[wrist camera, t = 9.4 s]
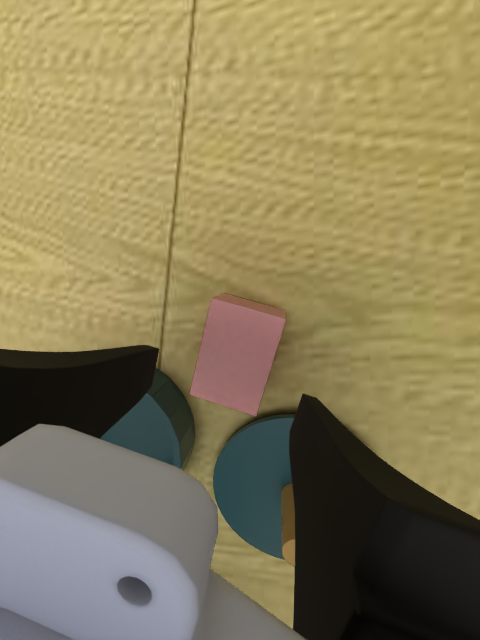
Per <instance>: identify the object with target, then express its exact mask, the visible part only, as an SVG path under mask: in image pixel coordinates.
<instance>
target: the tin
mask: <svg viewBox="0 0 480 640" xmlns="http://www.w3.org/2000/svg"><path fill="white" fill-rule="evenodd" d="M194 436H195V432H194V422H193V417H192V413H191V410H190V408H189V405H188V403H187V401H186V399H185V398H184V396H183V394H182V393H181V391H180V390H179V389H178V387H177V386H176V385H175V384H174V383H173V382H172V381H171V380H170V379H169V378H168V377H167V376H166V375H165V374H163V373H162V372H161V371H159V370H158V369H156V368H155V373H154V378H153V383H152V386H151V388H150V389H149V390H148V392H147V393H146V394H145V395H144V397H143V398H142V399H141V400H140V401H139V402H138V403H137V404H136V405H135V406H134V407H133V408H132V409H131V410H130V411H129V412H128V413H127V414H126V415H124V416H123V417H122V418H121V419H120V420H119V421H118V422H117V423H116V424H115V425H114V426H113V427H111V428H110V429H109V430H108V431H107V432H106V433H105V434H104V435H103V436H102V437H101V438H100V439H101V440H104V441H107V442H109V443H112V444H115V445H118V446H121V447H123V448H126V449H129V450H132V451H134V452H137V453H140V454H143V455H146V456H148V457H151V458H154V459H157V460H159V461H162V462H165V463H168V464H170V465H173V466H176V467H178V468H180V469H181V470H183V471H184V469H185V467H186V464H187V462H188V460H189V456H190V454H191V452H192V448H193V444H194Z"/></svg>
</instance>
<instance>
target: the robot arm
mask: <svg viewBox="0 0 480 640" xmlns="http://www.w3.org/2000/svg"><path fill="white" fill-rule="evenodd" d="M158 352H159V349H158V348H155V347H151V346H148V345H138V346H129V347H121V348H113V349H103V350H93V351H80V352H36V351H18V350H6V349H0V640H480V520H478V519H476V518H475V517H473V516H471V515H469V514H467V513H465V512H463V511H462V510H460V509H458V508H456V507H454V506H452V505H451V504H449V503H447V502H445V501H444V500H442V499H440V498H439V497H437V496H436V495H434V494H432V493H431V492H429V491H427V490H426V489H424V488H422V487H421V486H419V485H418V484H416V483H415V482H413V481H412V480H410V479H409V478H407V477H406V476H404V475H403V474H402V473H400V472H399V471H397V470H396V469H394V468H393V467H392V466H390V465H389V464H387V463H386V462H385V461H383V460H382V459H381V458H380V457H378V456H377V455H376V454H375V453H373V452H372V451H371V450H370V449H369V448H367V447H366V446H365V445H364V444H363V443H361V442H360V441H359V440H358V439H357V438H356V437H355V436H354V435H353V434H352V433H351V432H350V431H349V430H348V429H347V428H346V427H344V426H343V425H342V423H341V422H340V421H339V420H338V419H337V418H336V417H335V416H334V415H333V414H332V413H331V412H330V411H329V410H328V409H327V408H326V407H325V406H324V405H323V404H322V403H321V402H320V401H319V400H318V399H317V398H315V397H312V396H309V395H305V394H303V395H302V397H301V400H300V403H299V406H298V409H297V412H296V415H295V417H294V420H293V423H292V426H291V429H290V435H289V457H290V468H291V477H292V487H293V496H294V508H295V586H294V623H293V629H291V628H290V627H289V626H287V625H286V624H285V623H283V622H282V621H281V620H279V619H278V618H277V617H275V616H274V615H273V614H271V613H270V612H268V611H267V610H266V609H264V608H263V607H262V606H260V605H259V604H258V603H256V602H255V601H254V600H252V599H251V598H250V597H248V596H247V595H245V594H244V593H243V592H241V591H240V590H239V589H237V588H236V587H235V586H233V585H232V584H231V583H229V582H228V581H227V580H225V579H224V578H223V577H221V576H220V575H218V574H217V573H216V572H214V571H213V570H212V569H210V564H211V560H212V555H213V551H214V547H215V542H216V538H217V534H218V514H217V506H216V504H215V503H214V501H213V500H212V498H211V496H210V495H209V493H208V492H207V490H206V489H205V487H204V485H203V484H202V483H201V482H200V481H199V480H197V479H196V478H194V477H193V476H191V475H189V474H188V473H186V472H185V471H183V470H181V469H180V468H178V467H176V466H173V465H170V464H168V463H165V462H162V461H159V460H157V459H154V458H151V457H148V456H146V455H143V454H140V453H137V452H134V451H132V450H129V449H126V448H123V447H121V446H118V445H115V444H112V443H109V442H107V441H104V440H101V439H100V438H101V437H102V436H103V435H104V434H105V433H106V432H107V431H108V430H109V429H110V428H111V427H113V426H114V425H115V424H116V423H117V422H118V421H119V420H120V419H121V418H122V417H123V416H124V415H126V414H127V413H128V412H129V411H130V410H131V409H132V408H133V407H134V406H135V405H136V404H137V403H138V402H139V401H140V400H141V399H142V398H143V397H144V395H145V394H146V393H147V392H148V390H149V389H150V388H151V386H152V383H153V378H154V373H155V368H156V362H157V357H158Z"/></svg>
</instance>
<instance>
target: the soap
mask: <svg viewBox="0 0 480 640" xmlns="http://www.w3.org/2000/svg"><path fill="white" fill-rule="evenodd" d="M285 322H286V315H285V310H283V309H279V308H275V307H272V306H268V305H265V304H261V303H258V302H254V301H250V300H247V299H243V298H240V297H236V296H233V295H229V294H225V293H224V294H221V295H219V296H216V297H213V298H212V299H211V303H210V307H209V311H208V316H207V320H206V324H205V329H204V333H203V337H202V342H201V346H200V350H199V355H198V359H197V363H196V367H195V372H194V376H193V380H192V385H191V389H190V393H189V394H190V395H192V396H195V397H198V398H201V399H205V400H208V401H211V402H214V403H217V404H220V405H223V406H226V407H229V408H232V409H235V410H238V411H241V412H244V413H247V414H250V415H253V416H256V415H257V412H258V409H259V406H260V403H261V399H262V396H263V393H264V390H265V386H266V383H267V380H268V377H269V374H270V370H271V367H272V364H273V361H274V358H275V354H276V351H277V348H278V345H279V342H280V338H281V335H282V332H283V329H284V325H285Z"/></svg>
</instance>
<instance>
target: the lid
mask: <svg viewBox="0 0 480 640" xmlns="http://www.w3.org/2000/svg"><path fill="white" fill-rule="evenodd" d="M295 415H296V414H282V415H274V416H269V417H265V418H262V419H259V420H256V421H254V422H252V423H250V424H248V425H246V426H244V427H243V428H241V429H240V430H239V431H237V432H236V433H235V434H234V435H233V436H232V437H231V438H230V439H229V440H228V441H227V442H226V444H225V445H224V447H223V448H222V450H221V452H220V454H219V456H218V459H217V462H216V466H215V469H214V476H213V488H214V494H215V498H216V502H217V505H218V507H219V509H220V511H221V513H222V515H223V517H224V518H225V520H226V521H227V523H228V524H229V525H230V527H231V528H232V529H233V530H234V531H235V532H236V533H237V534H238V535H239V536H240V537H241V538H242V539H244V540H245V541H246V542H247V543H249V544H250V545H252V546H254V547H255V548H257V549H259V550H261V551H263V552H264V553H267V554H269V555H272V556H274V557H277V558H281V559H284V560H286V561H287V562H288V563H289V564H290V565H292V566H294V567H295V508H294V496H293V487H292V477H291V468H290V457H289V435H290V429H291V426H292V423H293V420H294V417H295ZM359 441H360V440H359ZM360 442H361V441H360ZM361 443H362V442H361Z"/></svg>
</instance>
